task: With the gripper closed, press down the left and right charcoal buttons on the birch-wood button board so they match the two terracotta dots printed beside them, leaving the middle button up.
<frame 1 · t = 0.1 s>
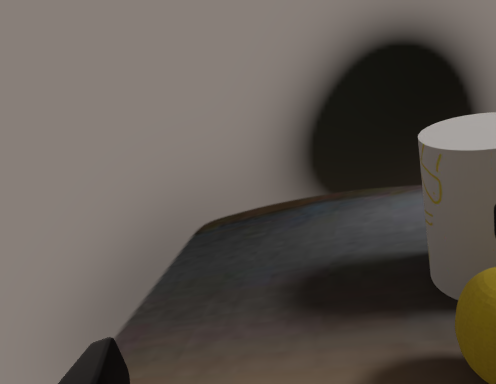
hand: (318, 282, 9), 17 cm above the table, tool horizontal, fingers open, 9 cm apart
cup: (486, 276, 33), on the table
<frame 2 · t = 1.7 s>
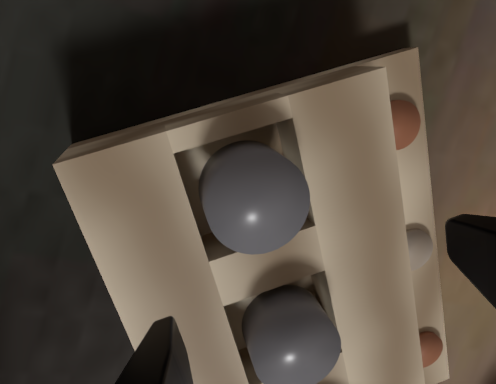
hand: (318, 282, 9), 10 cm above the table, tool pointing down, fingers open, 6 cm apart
button board: (265, 287, 21), on the table
button middle: (289, 336, 17), point 4 cm above the table, slide at 0.0 cm
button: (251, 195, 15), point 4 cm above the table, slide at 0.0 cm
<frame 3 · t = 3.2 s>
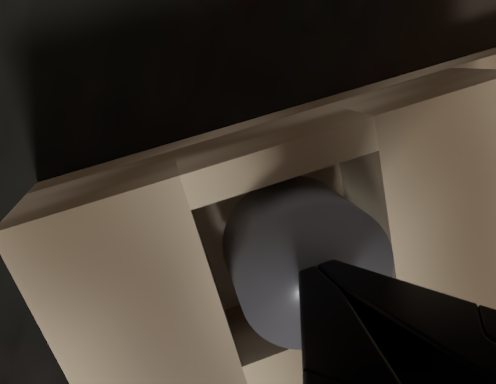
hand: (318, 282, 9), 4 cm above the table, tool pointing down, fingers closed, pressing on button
button board: (307, 367, 15), on the table
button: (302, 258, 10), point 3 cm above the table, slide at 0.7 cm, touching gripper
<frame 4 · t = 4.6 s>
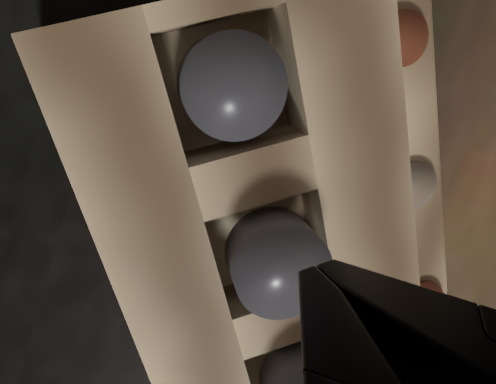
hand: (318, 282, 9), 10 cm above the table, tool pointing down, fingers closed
button board: (253, 222, 19), on the table
button middle: (276, 261, 15), point 4 cm above the table, slide at 0.0 cm
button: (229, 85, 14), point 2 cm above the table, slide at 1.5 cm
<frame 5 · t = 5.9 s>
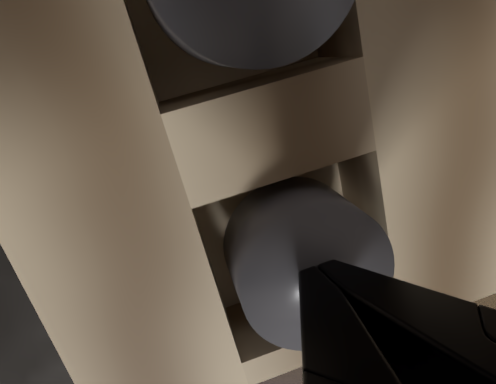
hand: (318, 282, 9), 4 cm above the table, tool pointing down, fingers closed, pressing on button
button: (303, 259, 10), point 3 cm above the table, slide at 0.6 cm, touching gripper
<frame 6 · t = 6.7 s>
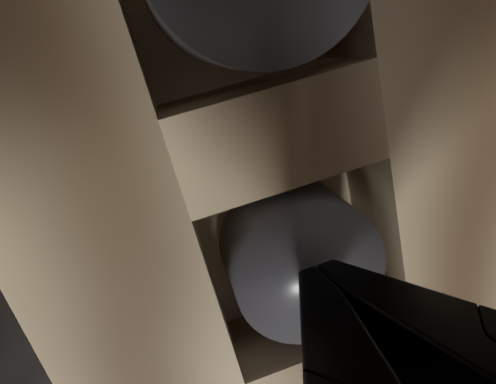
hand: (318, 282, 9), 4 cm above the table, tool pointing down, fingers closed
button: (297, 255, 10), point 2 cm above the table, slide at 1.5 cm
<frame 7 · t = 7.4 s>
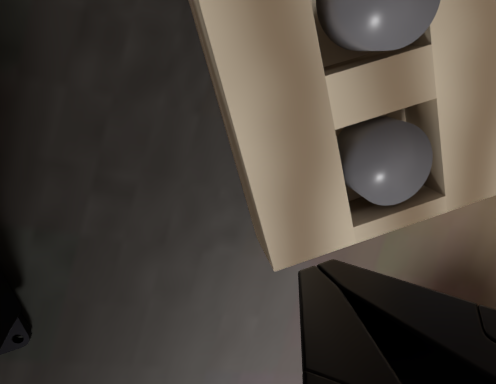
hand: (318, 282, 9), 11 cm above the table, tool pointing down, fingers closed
button board: (332, 8, 18), on the table
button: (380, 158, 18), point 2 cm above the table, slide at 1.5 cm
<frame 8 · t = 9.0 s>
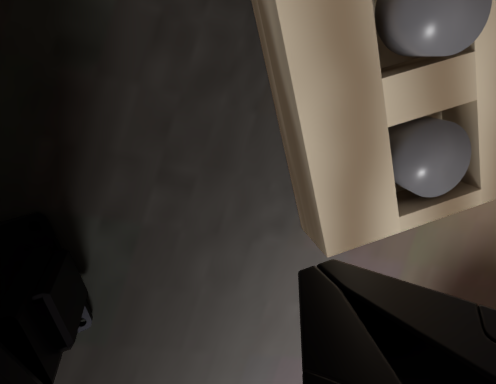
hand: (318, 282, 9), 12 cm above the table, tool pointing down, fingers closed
button board: (379, 17, 20), on the table
button middle: (430, 8, 16), point 4 cm above the table, slide at 0.0 cm
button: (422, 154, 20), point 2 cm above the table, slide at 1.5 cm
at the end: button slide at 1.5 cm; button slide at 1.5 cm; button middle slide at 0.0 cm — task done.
